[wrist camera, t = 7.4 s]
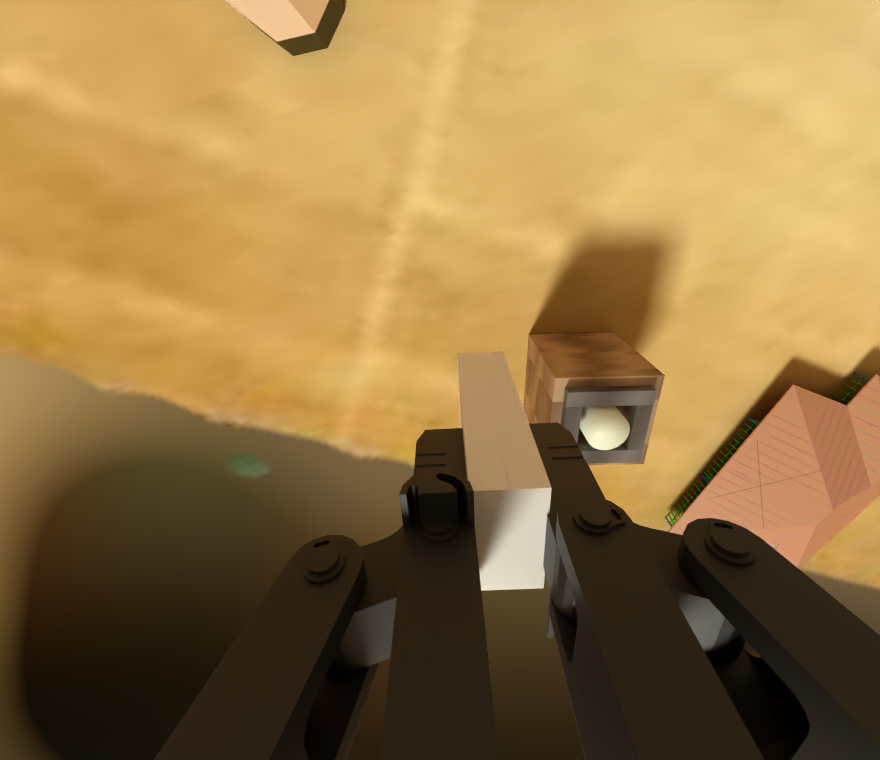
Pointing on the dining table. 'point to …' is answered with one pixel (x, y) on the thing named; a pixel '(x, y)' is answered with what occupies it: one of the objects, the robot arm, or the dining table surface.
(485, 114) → the dining table surface
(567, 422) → the socket block
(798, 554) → the house
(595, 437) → the peg
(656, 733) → the robot arm
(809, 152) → the dining table surface
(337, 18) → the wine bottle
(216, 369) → the dining table surface
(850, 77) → the dining table surface
